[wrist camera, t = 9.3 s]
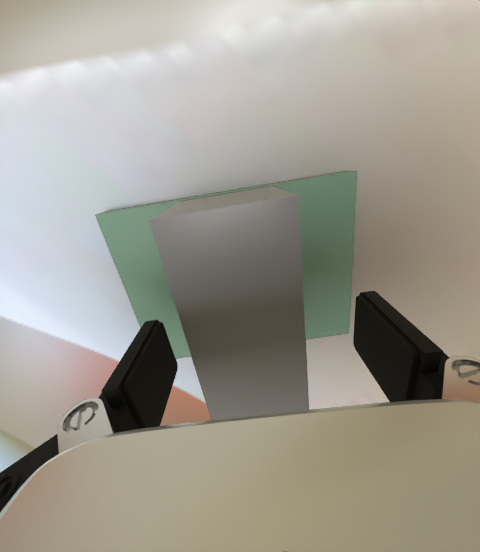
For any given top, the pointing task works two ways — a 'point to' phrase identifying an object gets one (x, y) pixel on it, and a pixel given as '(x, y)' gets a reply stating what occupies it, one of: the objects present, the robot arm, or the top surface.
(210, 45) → the top surface
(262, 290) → the block
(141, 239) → the board
